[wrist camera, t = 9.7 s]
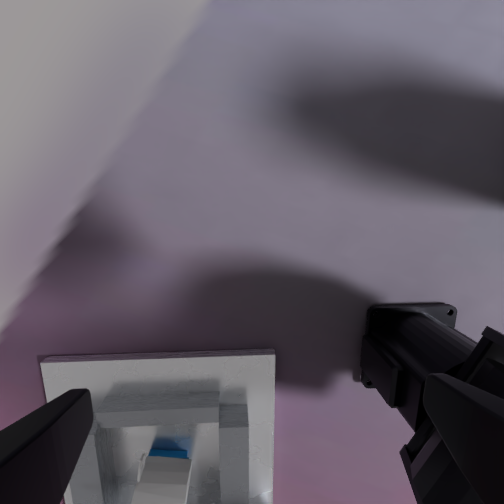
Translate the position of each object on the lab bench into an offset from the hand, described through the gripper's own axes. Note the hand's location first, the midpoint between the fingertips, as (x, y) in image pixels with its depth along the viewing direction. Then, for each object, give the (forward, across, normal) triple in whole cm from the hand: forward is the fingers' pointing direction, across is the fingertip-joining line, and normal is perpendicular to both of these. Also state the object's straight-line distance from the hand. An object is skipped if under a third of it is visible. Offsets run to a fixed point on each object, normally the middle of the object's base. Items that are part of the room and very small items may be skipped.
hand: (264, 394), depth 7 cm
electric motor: (+11, +7, +15) cm, 20 cm away
